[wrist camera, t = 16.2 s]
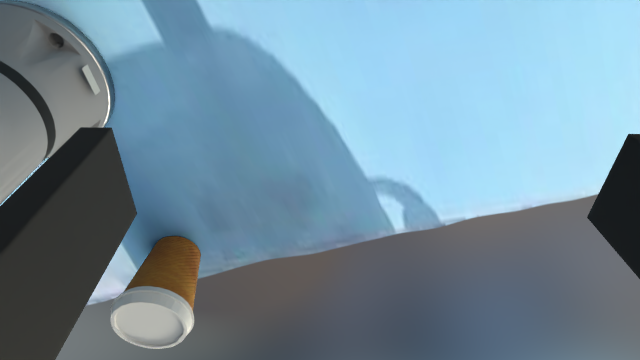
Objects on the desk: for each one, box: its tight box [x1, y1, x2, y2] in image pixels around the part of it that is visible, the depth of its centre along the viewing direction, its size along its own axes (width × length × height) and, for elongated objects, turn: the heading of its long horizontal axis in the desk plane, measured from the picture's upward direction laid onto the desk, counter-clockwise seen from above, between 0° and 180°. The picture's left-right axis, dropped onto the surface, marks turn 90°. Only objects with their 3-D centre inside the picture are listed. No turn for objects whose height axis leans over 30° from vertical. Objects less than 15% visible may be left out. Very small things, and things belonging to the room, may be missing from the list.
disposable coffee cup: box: [110, 236, 201, 349], centre depth 52 cm, size 10×10×12 cm
